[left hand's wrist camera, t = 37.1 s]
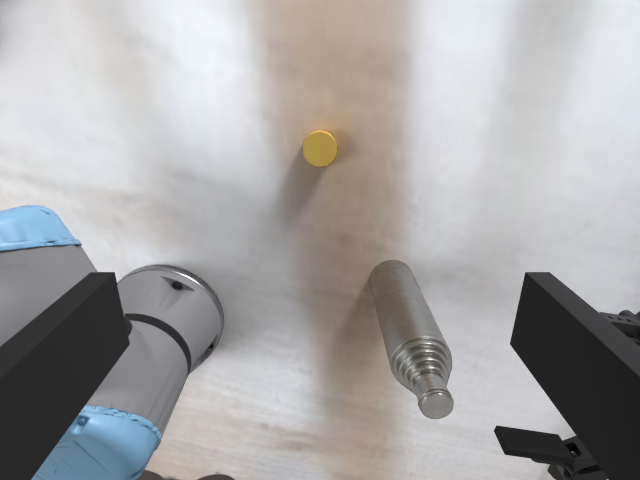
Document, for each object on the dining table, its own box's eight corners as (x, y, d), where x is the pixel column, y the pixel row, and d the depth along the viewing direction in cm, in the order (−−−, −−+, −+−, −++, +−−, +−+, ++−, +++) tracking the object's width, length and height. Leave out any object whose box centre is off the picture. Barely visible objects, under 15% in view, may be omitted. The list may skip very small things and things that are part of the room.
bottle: (417, 264, 51) (483, 384, 30) (406, 301, 53) (460, 437, 32) (375, 256, 50) (412, 373, 30) (365, 294, 52) (393, 428, 32)
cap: (298, 137, 45) (297, 139, 43) (329, 124, 44) (329, 126, 42) (310, 168, 46) (310, 171, 44) (341, 156, 45) (341, 159, 44)
